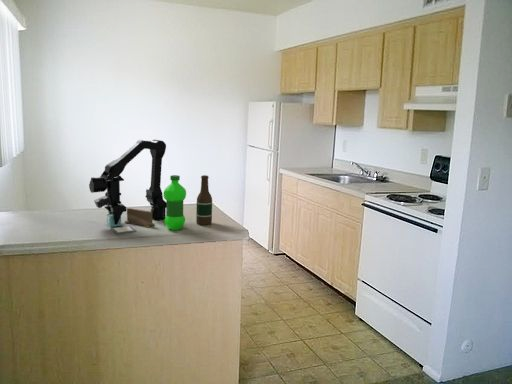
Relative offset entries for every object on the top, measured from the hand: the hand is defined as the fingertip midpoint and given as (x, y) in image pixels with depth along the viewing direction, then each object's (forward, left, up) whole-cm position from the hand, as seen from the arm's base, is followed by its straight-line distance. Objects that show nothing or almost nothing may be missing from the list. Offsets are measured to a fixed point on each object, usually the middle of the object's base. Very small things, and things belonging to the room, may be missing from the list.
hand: (114, 222), depth 211 cm
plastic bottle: (-23, +18, -1) cm, 29 cm away
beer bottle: (-39, +17, -1) cm, 43 cm away
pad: (-1, +10, -1) cm, 11 cm away
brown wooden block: (-11, +4, -1) cm, 12 cm away
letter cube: (0, 0, -1) cm, 1 cm away
